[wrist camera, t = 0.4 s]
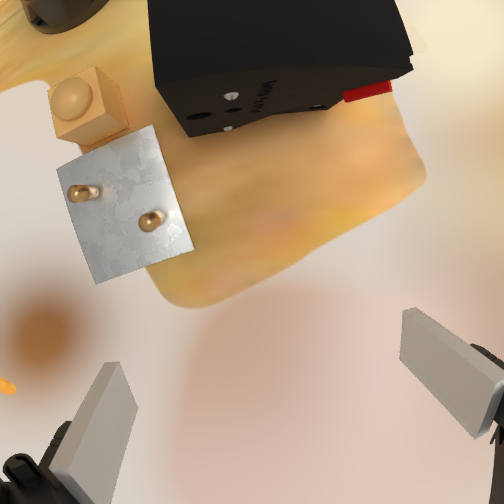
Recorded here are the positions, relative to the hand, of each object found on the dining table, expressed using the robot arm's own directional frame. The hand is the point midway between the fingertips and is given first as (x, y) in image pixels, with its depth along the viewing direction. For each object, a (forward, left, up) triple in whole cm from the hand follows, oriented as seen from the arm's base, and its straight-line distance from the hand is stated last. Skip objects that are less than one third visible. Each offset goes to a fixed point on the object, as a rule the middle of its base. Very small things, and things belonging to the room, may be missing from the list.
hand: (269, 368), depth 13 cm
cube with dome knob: (-22, -11, -26) cm, 36 cm away
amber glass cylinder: (-13, -15, -26) cm, 33 cm away
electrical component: (-18, +8, -26) cm, 33 cm away
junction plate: (-10, -12, -26) cm, 30 cm away
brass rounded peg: (-7, -8, -26) cm, 28 cm away
